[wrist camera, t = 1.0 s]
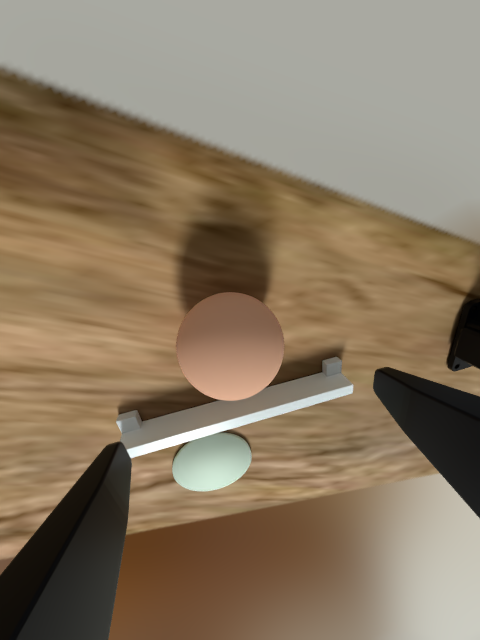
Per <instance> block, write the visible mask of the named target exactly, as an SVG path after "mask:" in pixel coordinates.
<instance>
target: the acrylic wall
mask: <svg viewBox="0 0 480 640" xmlns="http://www.w3.org/2000/svg"><path fill="white" fill-rule="evenodd" d="M341 366H342V361H341V360H340V359H339V358H338V357H333V358H330V359H326V360H322V372H321V373H318V374H314V375H310V376H307V377H303V378H299V379H296V380H292V381H288V382H285V383H281V384H277V385H274V386H270V387H266V388H264V389H263V390H262V391H260V392H259V393H257V394H255V395H253V396H251V397H248V398H245V399H241V400H235V401H226V400H219V401H215V402H212V403H208V404H204V405H201V406H197V407H193V408H190V409H186V410H182V411H179V412H175V413H171V414H168V415H164V416H160V417H157V418H153V419H150V420H146V421H142V420H141V418H140V416H139V414H138V411H137V410H134V411H131V412H127V413H123V414H119V415H118V417H117V420H116V423H117V425H118V427H119V428H120V430H121V432H122V436H121V439H120V442H122V443H123V444H124V446H125V448H126V450H127V452H128V454H129V456H130V458H133V457H136V456H140V455H143V454H147V453H150V452H154V451H157V450H160V449H164V448H167V447H171V446H174V445H177V444H181V443H184V442H188V441H191V440H195V439H198V438H201V437H205V436H208V435H212V434H215V433H218V432H222V431H225V430H229V429H232V428H236V427H239V426H242V425H246V424H249V423H253V422H256V421H259V420H263V419H266V418H270V417H273V416H277V415H280V414H283V413H287V412H290V411H294V410H297V409H301V408H304V407H307V406H311V405H314V404H318V403H321V402H324V401H328V400H331V399H335V398H338V397H342V396H345V395H348V394H352V393H353V384H352V383H351V382H350V381H349V380H348V379H347V378H346V377H345V376H344V375H343V374H342V373H341Z"/></svg>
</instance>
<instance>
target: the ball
mask: <svg viewBox="0 0 480 640" xmlns="http://www.w3.org/2000/svg"><path fill="white" fill-rule="evenodd" d="M176 350H177V358H178V362H179V365H180V367H181V370H182V372H183V374H184V375H185V377H186V378H187V380H188V381H189V382H190V383H191V384H192V385H193V386H194V387H195V388H196V389H197V390H199V391H200V392H202V393H203V394H205V395H207V396H209V397H212V398H215V399H219V400H226V401H235V400H241V399H245V398H248V397H251V396H253V395H255V394H257V393H259V392H260V391H262V390H263V389H264V388H265V387H266V386H268V385H269V384H270V382H271V381H272V380H273V379H274V377H275V376H276V374H277V373H278V371H279V368H280V366H281V364H282V360H283V355H284V337H283V332H282V329H281V326H280V324H279V322H278V320H277V318H276V317H275V315H274V314H273V312H272V311H271V310H270V309H269V308H268V307H267V306H266V305H265V304H263V303H262V302H261V301H259V300H258V299H256V298H254V297H252V296H249V295H246V294H242V293H237V292H225V293H219V294H215V295H212V296H210V297H207V298H205V299H203V300H202V301H200V302H199V303H197V304H196V305H195V306H194V307H193V308H192V309H191V310H190V311H189V312H188V314H187V315H186V316H185V318H184V320H183V321H182V323H181V326H180V328H179V331H178V336H177V342H176Z"/></svg>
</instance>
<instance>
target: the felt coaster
mask: <svg viewBox="0 0 480 640" xmlns="http://www.w3.org/2000/svg"><path fill="white" fill-rule="evenodd" d="M251 457H252V456H251V451H250V447H249V445H248V443H247V442H246V441H245V440H244V439H243V438H241V437H240V436H237V435H235V434H232V433H225V432H218V433H215V434H212V435H208V436H205V437H201V438H198V439H195V440H191V441H190V442H188V443H187V444H185V445H184V446H183V447H182V448H181V449H180V450H179V451H178V453H177V454H176V456H175V458H174V461H173V469H172V471H173V476H174V478H175V480H176V481H177V483H179V484H180V485H181V486H183V487H184V488H187V489H190V490H194V491H211V490H216V489H220V488H223V487H225V486H227V485H230V484H231V483H233V482H235V481H236V480H238V479H239V478H240V477H241V476H242V475H243V474H244V473H245V472H246V470H247V469H248V467H249V465H250V463H251Z"/></svg>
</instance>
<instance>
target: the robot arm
mask: <svg viewBox="0 0 480 640" xmlns="http://www.w3.org/2000/svg"><path fill="white" fill-rule="evenodd" d="M471 366H474V367H476V368H478V369H480V299H477V300H473V301H470V302H468V303H467V304H466V305H465V306H464V309H463V312H462V316H461V319H460V323H459V327H458V330H457V334H456V337H455V341H454V344H453V348H452V352H451V355H450V359H449V362H448V368H449V369H450V370H452V371H458V370H461V369H465V368H468V367H471ZM373 389H374V392H375V393H376V395H377V396H378V398H379V399H380V400H381V402H382V403H383V404H384V406H385V407H386V409H387V410H388V411H389V413H390V414H391V415H392V417H393V418H394V419H395V421H396V422H397V424H398V425H399V426H400V427H401V429H402V430H403V431H404V432H405V434H406V435H407V436H408V437H409V438H410V439H411V441H412V442H413V443H414V444H415V445H416V446H417V447H418V449H419V450H420V451H421V452H422V453H423V454H424V455H425V457H426V458H427V459H428V460H429V461H430V462H431V463H432V465H433V466H434V467H435V468H436V469H437V470H438V471H439V473H440V474H441V475H442V476H443V477H444V478H445V479H446V480H447V482H448V483H449V484H450V485H451V486H452V487H453V488H454V489H455V491H456V492H457V493H458V494H459V495H460V496H461V498H463V500H464V501H465V502H466V503H467V504H468V506H470V508H471V509H472V510H473V511H474V512H475V513H476V515H477V516H478V517H479V518H480V397H479V396H476V395H473V394H470V393H467V392H464V391H461V390H458V389H454V388H451V387H448V386H445V385H442V384H439V383H436V382H433V381H430V380H427V379H424V378H420V377H417V376H414V375H411V374H408V373H405V372H402V371H399V370H396V369H393V368H390V367H384V368H380V369H377V370H376V371H375V375H374V383H373ZM131 467H132V463H131V458H130V456H129V454H128V452H127V450H126V448H125V446H124V444H123V443H122V442H115V443H112V444H109V445H107V446H106V447H105V448H104V449H103V450H102V451H101V453H100V454H99V455H98V456H97V458H96V459H95V460H94V461H93V462H92V464H91V465H90V466H89V467H88V469H87V470H86V471H85V472H84V473H83V475H82V476H81V477H80V478H79V480H78V481H77V482H76V483H75V484H74V486H73V487H72V488H71V489H70V491H69V492H68V493H67V494H66V495H65V497H64V498H63V499H62V500H61V502H60V503H59V504H58V505H57V506H56V508H55V509H54V510H53V511H52V513H51V514H50V515H49V516H48V517H47V519H46V520H45V521H44V522H43V524H42V525H41V526H40V527H39V528H38V530H37V531H36V532H35V533H34V535H33V536H32V537H31V538H30V539H29V541H28V542H27V543H26V544H25V546H24V547H23V548H22V549H21V550H20V552H19V553H18V554H17V555H16V557H15V558H14V559H13V560H12V561H11V563H10V564H9V565H8V566H7V568H6V569H5V570H4V571H3V572H2V574H1V575H0V640H108V638H109V632H110V625H111V620H112V614H113V608H114V601H115V595H116V589H117V583H118V577H119V571H120V565H121V559H122V553H123V547H124V541H125V535H126V529H127V522H128V512H129V497H130V482H131Z"/></svg>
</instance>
